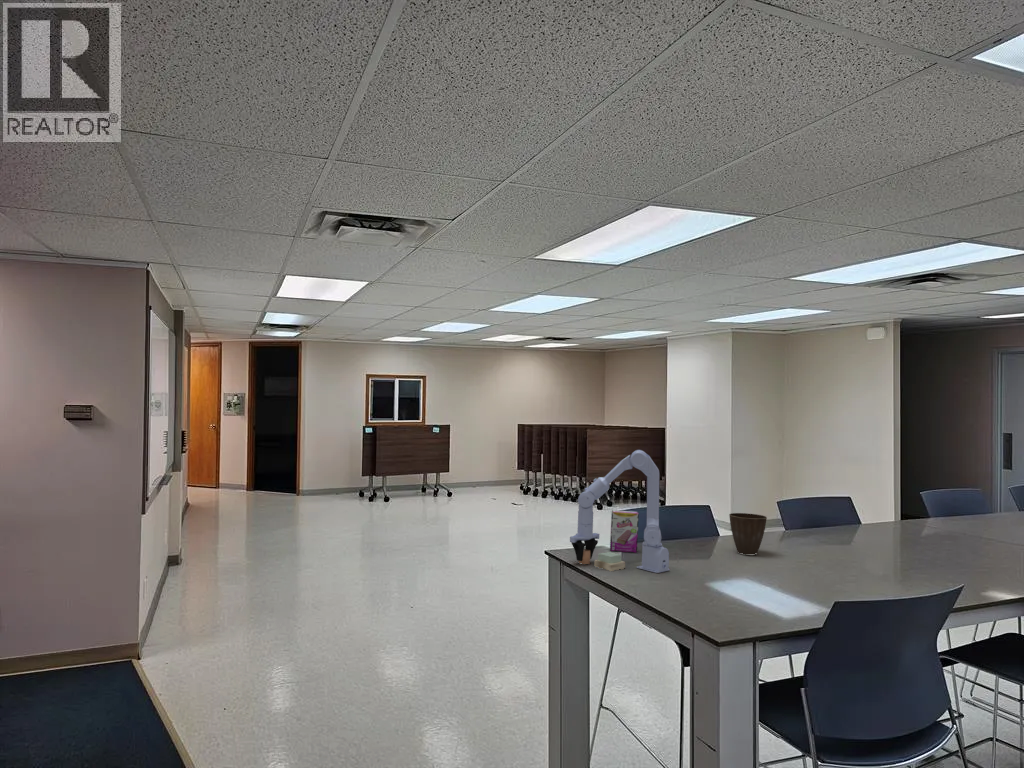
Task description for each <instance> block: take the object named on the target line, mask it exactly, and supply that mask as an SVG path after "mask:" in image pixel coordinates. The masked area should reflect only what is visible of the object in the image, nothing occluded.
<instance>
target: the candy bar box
mask: <svg viewBox="0 0 1024 768" xmlns="http://www.w3.org/2000/svg"><path fill="white" fill-rule="evenodd" d="M610 515H611V516H610V536H609V537H610V538H609V539H610V540H609V552H617V553H618V552H619V553H632V552H633V554H634V553H637V554H638V542H639V541H638V540H639V539H638V538H639V537H638V536H639V515H640V514H639V512H638V511H631V510H630V511H629V510H618V509H617V510H615V509H614V510H613V509H611V514H610Z"/></svg>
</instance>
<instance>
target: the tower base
mask: <svg viewBox="0 0 1024 768" xmlns="http://www.w3.org/2000/svg"><path fill="white" fill-rule="evenodd" d="M593 565H594V566H596V567H599V568H598V569H600V568H603V569H606V570H605V571H607V570H609V571H608V572H611V571H612V572H615V571H614V570H616V571H620V570H619V569H621V570H625V569H626V561H623V560H621V562H617V563H611V564H610V563H606V562H602V561H598V559H595V560H594V564H593ZM594 566H593V567H594ZM596 567H595V568H596ZM624 568H625V569H624ZM603 569H602V570H603Z"/></svg>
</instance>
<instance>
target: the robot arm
mask: <svg viewBox="0 0 1024 768" xmlns="http://www.w3.org/2000/svg"><path fill="white" fill-rule="evenodd" d="M633 467H634V468H635V469H637V470H639V471H641V472H642V473H643V474H644V475H645V476H646V481H647V482H646V525H645V528H644V530H643V540H644V541H643V542H642V544H641V545H642V546H641V547H642V549H641V565H637V566H636V569H640V570H643V571H648V572H651V573H654V574H658V573H665V572H668V571H671V569H670V568H669V565H670V553H669V549H668V548H666V547H664V545H663V543H662V542H661V541H662V531H661V529H660V519H659V518H660V470H659V468H658V466H657V465H656V463H655V462H654V461H653V459H652V457H651V456H650V454H648V453H646V452H645V451H644V450H642V449H636V450H634V451H633V452H631V454H629V455H627V456H626V457H625V458H623V459H621V460H620V461H619V462H618V463H617V464H615V466H614V467H613V468H612V469H611V470H610V471H609V472H608V473H607V474H606V475H605V476H603V477H600V476H599V477H598V478H597V477H596V478H594V479H593V482H592V483H591V484H590V485H589V486H588V487H585V488H584V491H582V492H581V493H580V494H579V495H578V497H577V498H578V499H577V503H578V511H577V533H575V535H571V536H570V537H569V543H571V545H572V547H573V549H574V552H575V556H576V557H575V558H576V561H577V562H578V561H582V559H583V551H584V549H588V550H591V552H590V560H592V558H593V555H594V551H595V549H596V546H598V543H599V540H600V533H598V532H597V533H596V532H594V533H593V531H594V530H593V529H594V509H593V508H594V505H593V504H594V503H595V501H596V500H599V499H600V498H601V497H603V495H604V494H605V493H606V492H608V491H609V489H610V484H611V483H612V482H613V481H614V480H615V479H617V478H618V477H619V476H620V475H621V474H622V473H623V472H625V471H627V470H632V469H633Z"/></svg>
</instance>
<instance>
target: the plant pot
mask: <svg viewBox="0 0 1024 768" xmlns="http://www.w3.org/2000/svg"><path fill="white" fill-rule="evenodd" d="M728 516H729V522H730V529H731V534H732V537H733V542H734V545H735V547H736V548H735V549H736V551H737V553H738V552H739V553H743V554H755V553H757V554H758V552H759V550H760V548H761V544H762V542H763V538H764V533H765V530H766V523H767V518H768V517H767V515H762V514H756V513H746V512H734V513H733V512H732V513H731V512H730V513H729V515H728ZM739 553H738V554H739Z"/></svg>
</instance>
